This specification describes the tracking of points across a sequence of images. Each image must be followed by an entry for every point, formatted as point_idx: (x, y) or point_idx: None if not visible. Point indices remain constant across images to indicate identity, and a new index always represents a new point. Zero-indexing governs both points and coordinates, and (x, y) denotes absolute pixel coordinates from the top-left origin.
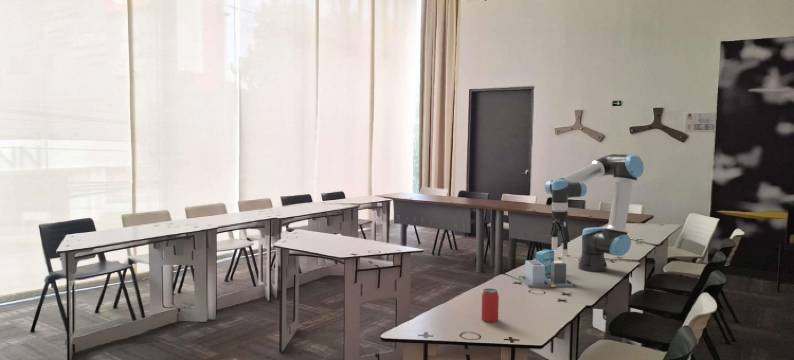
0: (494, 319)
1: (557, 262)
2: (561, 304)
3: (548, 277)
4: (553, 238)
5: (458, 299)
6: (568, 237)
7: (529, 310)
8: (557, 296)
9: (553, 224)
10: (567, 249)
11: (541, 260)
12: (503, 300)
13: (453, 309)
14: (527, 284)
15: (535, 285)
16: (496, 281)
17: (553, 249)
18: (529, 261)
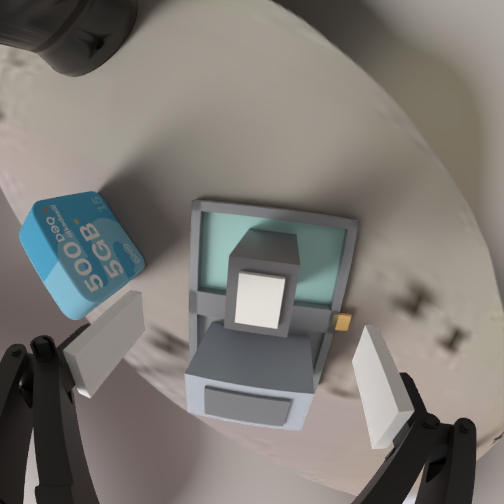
0: None
1: (273, 315)
2: (472, 352)
3: (199, 270)
4: (92, 381)
5: (339, 488)
6: (471, 462)
7: (456, 417)
8: (424, 339)
9: (18, 493)
10: (392, 359)
11: (109, 294)
12: (383, 448)
13: None
14: None
15: (320, 375)
16: (219, 425)
17: (142, 322)
18: (218, 416)
